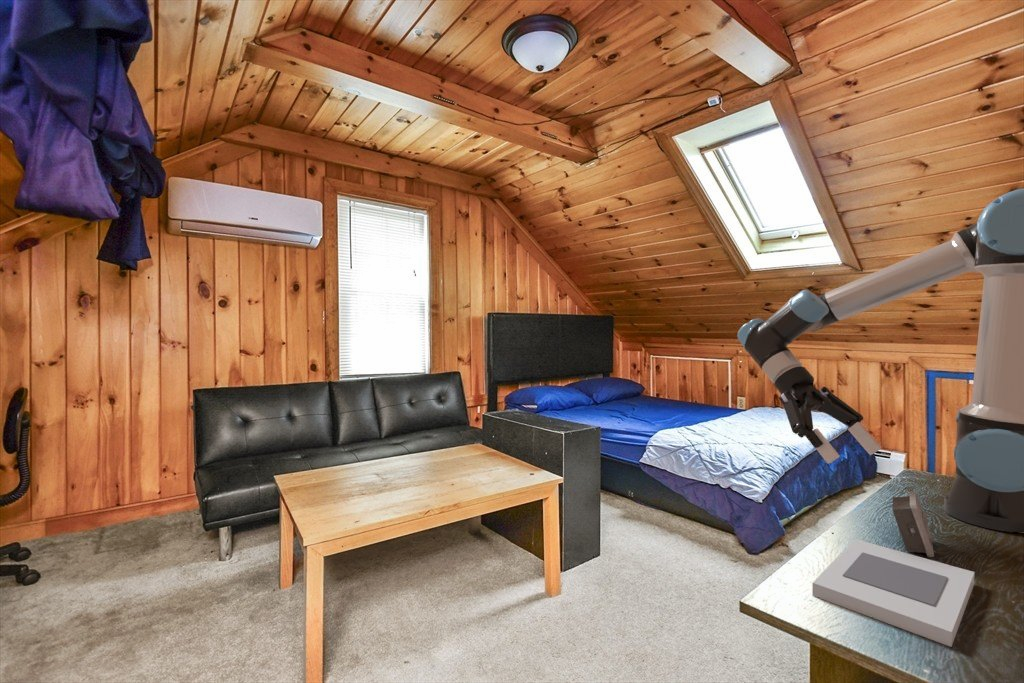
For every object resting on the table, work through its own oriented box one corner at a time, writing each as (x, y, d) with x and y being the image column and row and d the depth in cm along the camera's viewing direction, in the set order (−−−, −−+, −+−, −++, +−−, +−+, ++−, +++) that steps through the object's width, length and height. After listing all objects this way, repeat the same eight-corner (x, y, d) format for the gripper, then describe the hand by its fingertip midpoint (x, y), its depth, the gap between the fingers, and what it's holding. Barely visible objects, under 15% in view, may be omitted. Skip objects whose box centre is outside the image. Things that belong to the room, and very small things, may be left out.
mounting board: (854, 549, 89) (854, 537, 89) (974, 584, 77) (974, 570, 77) (812, 595, 75) (812, 581, 75) (951, 647, 63) (951, 630, 63)
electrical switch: (934, 560, 85) (928, 507, 85) (897, 554, 88) (891, 503, 88) (932, 541, 92) (926, 492, 92) (897, 536, 95) (892, 489, 96)
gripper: (812, 381, 120) (878, 457, 107) (739, 389, 110) (801, 473, 97) (835, 361, 114) (906, 438, 101) (760, 367, 104) (828, 453, 91)
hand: (855, 455), depth 99 cm, fingers open, 13 cm apart
